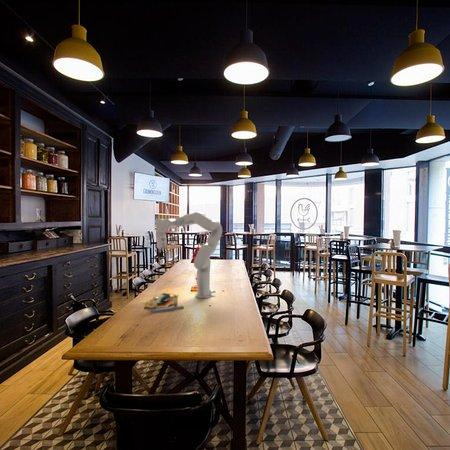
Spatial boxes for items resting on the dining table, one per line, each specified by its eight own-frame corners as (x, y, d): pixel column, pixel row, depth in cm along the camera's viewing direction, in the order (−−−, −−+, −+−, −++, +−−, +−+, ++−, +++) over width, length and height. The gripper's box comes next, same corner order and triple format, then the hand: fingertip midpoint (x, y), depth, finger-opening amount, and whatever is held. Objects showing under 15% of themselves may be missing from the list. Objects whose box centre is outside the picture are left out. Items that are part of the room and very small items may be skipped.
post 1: (157, 309, 205) (157, 296, 204) (158, 311, 201) (158, 297, 201) (151, 310, 203) (151, 297, 203) (153, 311, 200) (153, 298, 199)
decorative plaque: (154, 288, 235) (180, 289, 233) (154, 297, 235) (180, 298, 234) (139, 299, 205) (169, 299, 203) (140, 309, 205) (169, 311, 203)
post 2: (177, 306, 211) (177, 294, 211) (179, 308, 208) (179, 295, 208) (172, 307, 210) (172, 294, 209) (174, 308, 206) (174, 296, 206)
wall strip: (182, 307, 210) (182, 305, 210) (183, 308, 207) (183, 306, 207) (149, 312, 199) (149, 309, 199) (150, 313, 197) (150, 311, 197)
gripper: (168, 234, 241) (168, 258, 242) (162, 233, 254) (162, 256, 255) (159, 235, 238) (159, 258, 238) (153, 234, 251) (153, 256, 251)
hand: (161, 257), depth 247 cm, fingers closed
